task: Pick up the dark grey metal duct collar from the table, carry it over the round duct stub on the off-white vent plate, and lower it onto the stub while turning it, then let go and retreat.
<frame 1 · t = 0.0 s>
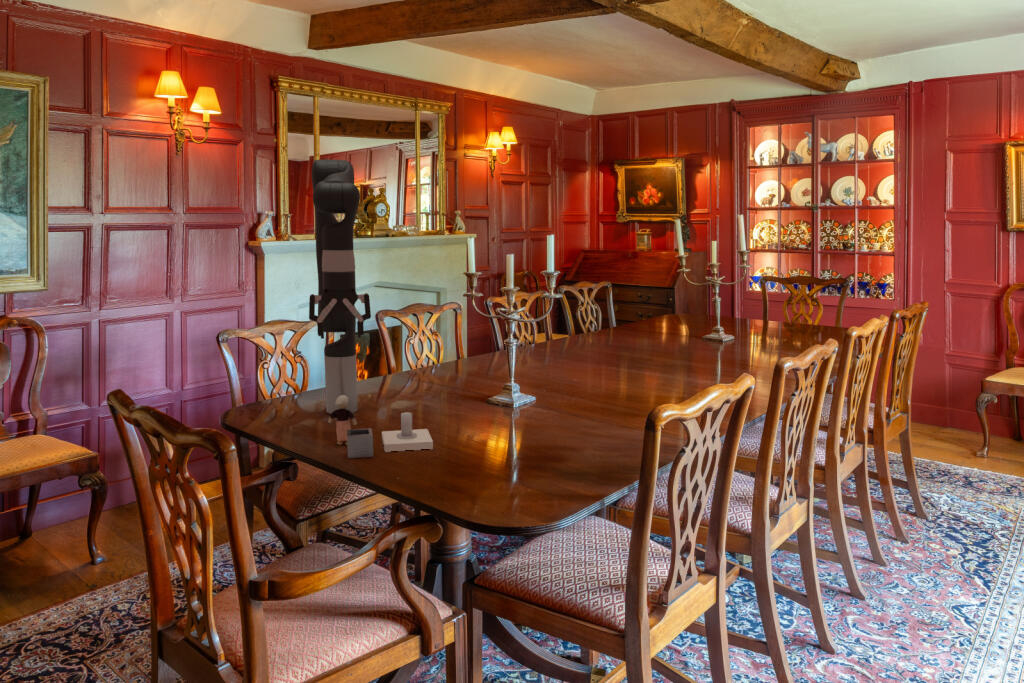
hand: (340, 337, 180), 29 cm above the table, tool pointing down, fingers open, 8 cm apart
collar: (360, 453, 186), on the table
grandmother figurine: (343, 444, 195), on the table
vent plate: (406, 443, 195), on the table
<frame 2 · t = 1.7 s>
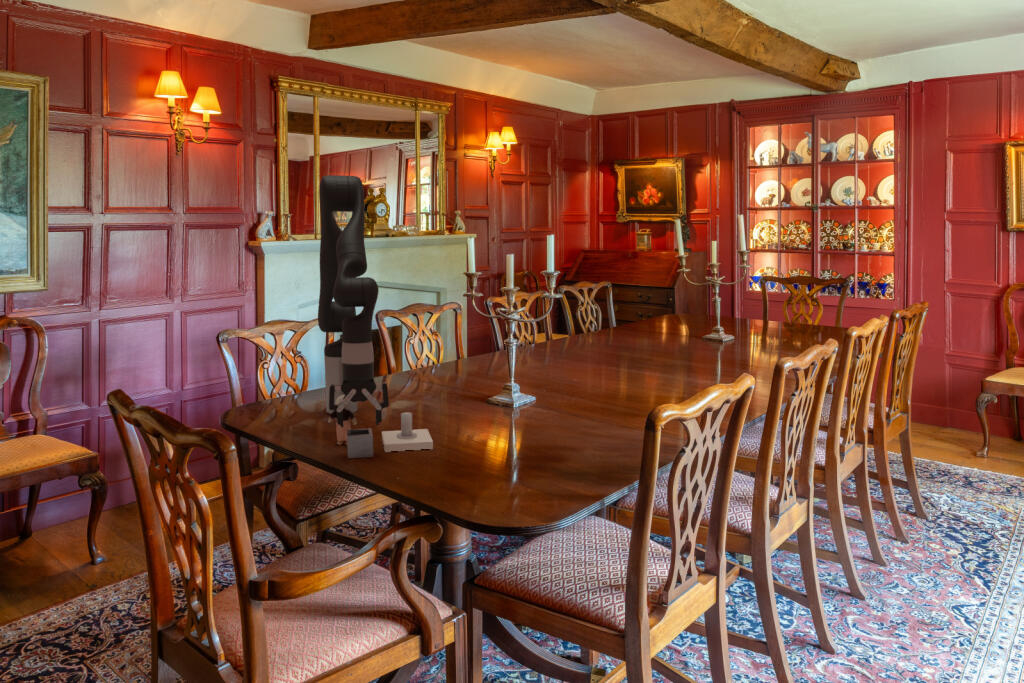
hand: (359, 425, 185), 7 cm above the table, tool pointing down, fingers open, 8 cm apart
nothing on the table moved.
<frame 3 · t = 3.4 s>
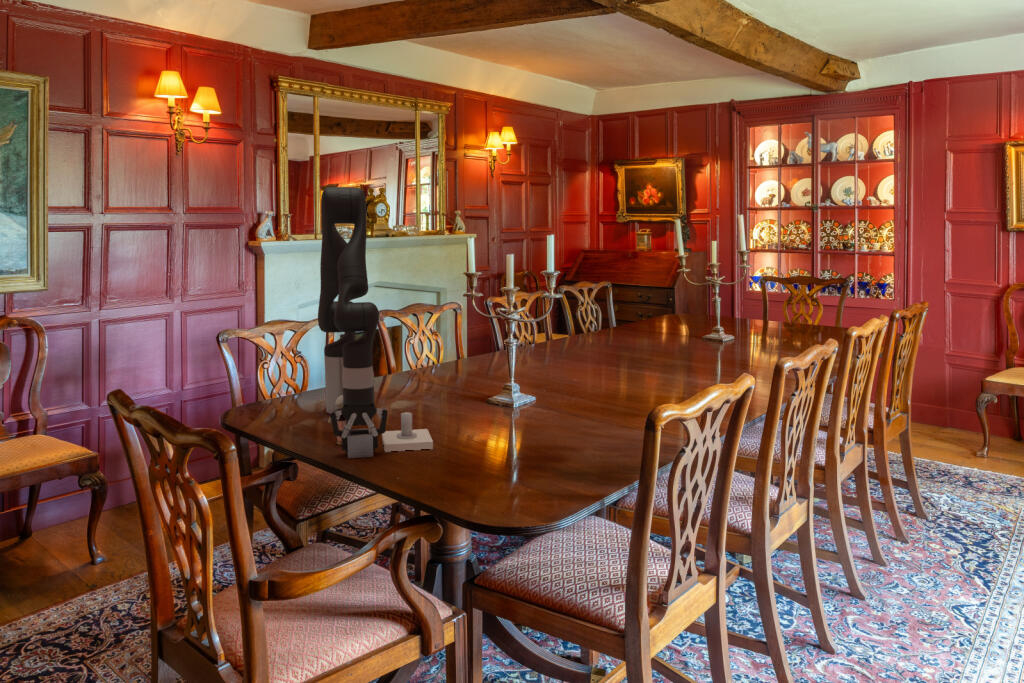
hand: (360, 450, 186), 1 cm above the table, tool pointing down, fingers closed on collar, 6 cm apart
collar: (360, 453, 186), on the table, touching gripper
everything else where it was.
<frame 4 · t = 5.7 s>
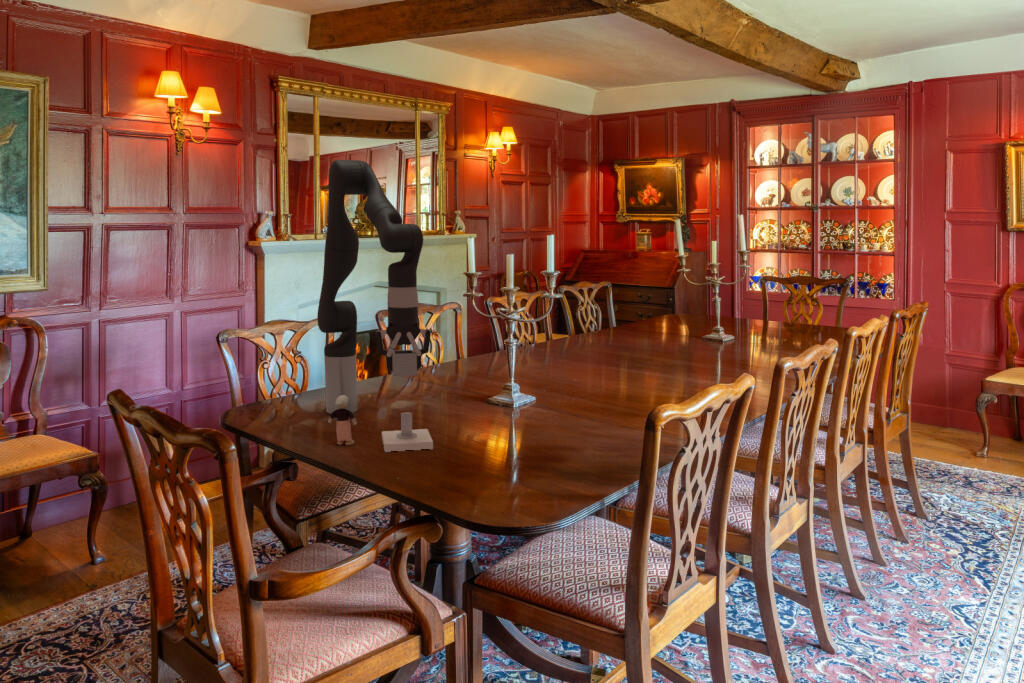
hand: (403, 370, 191), 19 cm above the table, tool pointing down, fingers closed on collar, 6 cm apart
collar: (404, 373, 191), point 19 cm above the table, touching gripper
everything else where it was.
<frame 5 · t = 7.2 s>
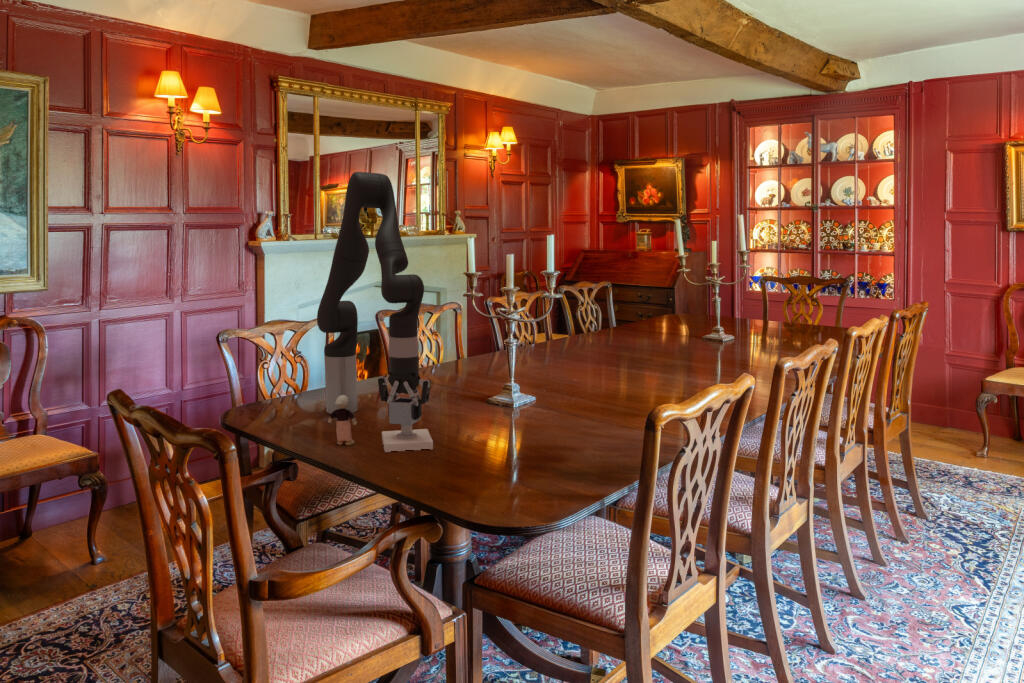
hand: (404, 418, 193), 7 cm above the table, tool pointing down, fingers closed on collar, 6 cm apart
collar: (404, 421, 193), point 6 cm above the table, touching gripper
everything else where it was.
when the fingers open (5 cm above the table, at t = 8.2 s): collar drops 1 cm, resting on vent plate.
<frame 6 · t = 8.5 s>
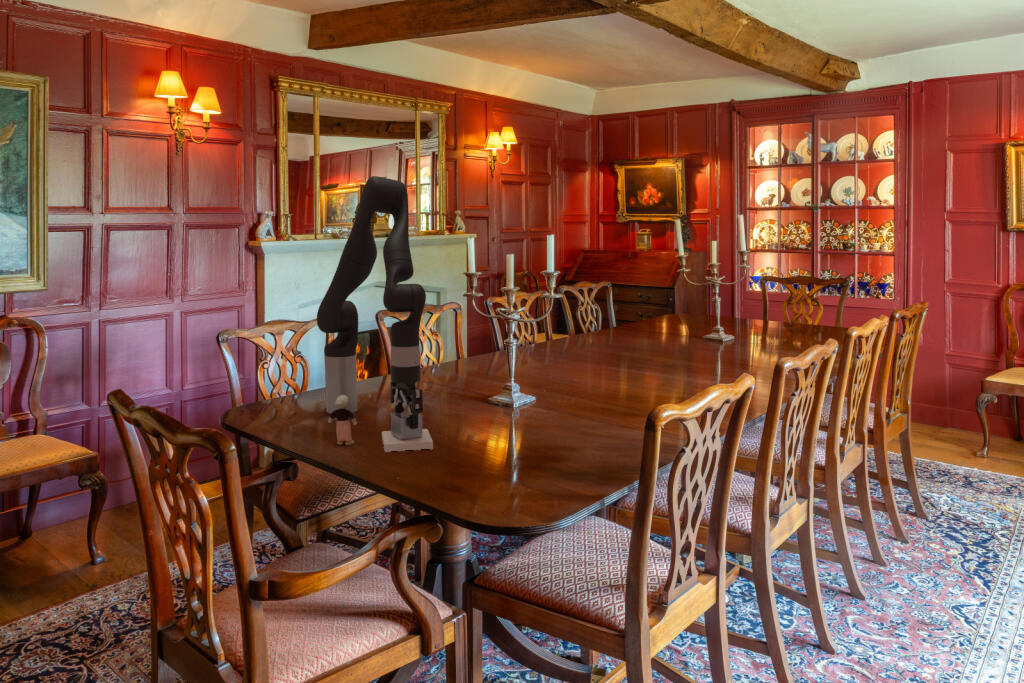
hand: (406, 424, 194), 5 cm above the table, tool pointing down, fingers open, 8 cm apart
collar: (406, 434, 194), point 2 cm above the table, touching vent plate
everything else where it was.
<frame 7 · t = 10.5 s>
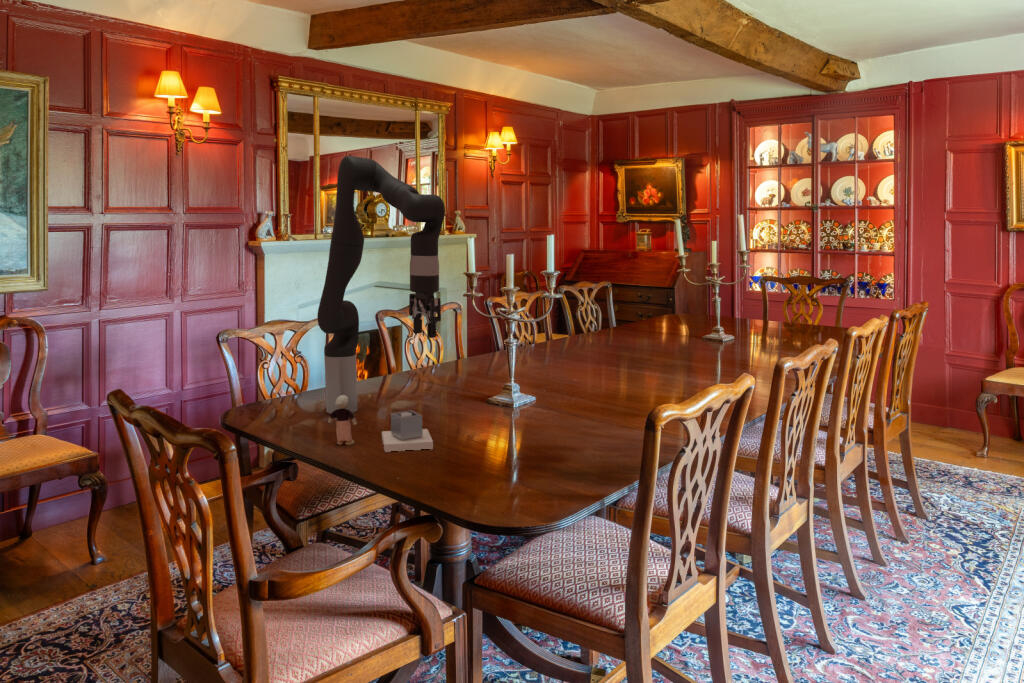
hand: (424, 335, 197), 27 cm above the table, tool pointing down, fingers open, 8 cm apart
nothing on the table moved.
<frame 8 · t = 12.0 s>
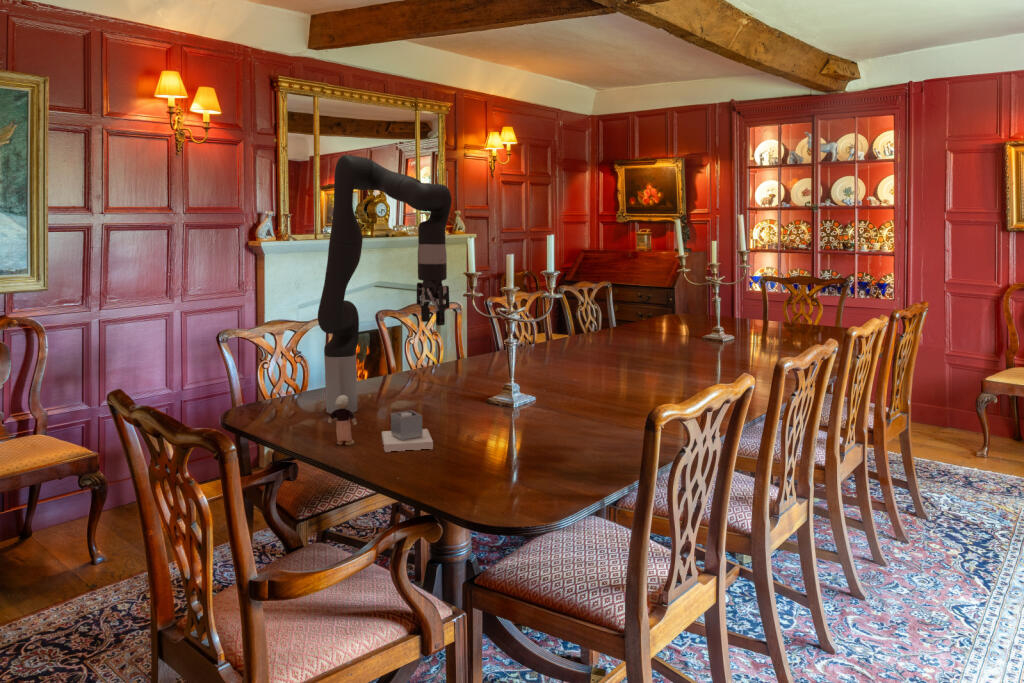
hand: (432, 323, 199), 30 cm above the table, tool pointing down, fingers open, 8 cm apart
nothing on the table moved.
at the end: collar 0.1 cm off-centre on the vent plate, point 2.4 cm above the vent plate's base; collar tilted 0°; the gripper is holding nothing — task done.
